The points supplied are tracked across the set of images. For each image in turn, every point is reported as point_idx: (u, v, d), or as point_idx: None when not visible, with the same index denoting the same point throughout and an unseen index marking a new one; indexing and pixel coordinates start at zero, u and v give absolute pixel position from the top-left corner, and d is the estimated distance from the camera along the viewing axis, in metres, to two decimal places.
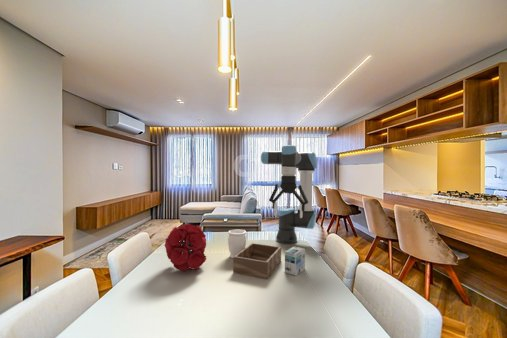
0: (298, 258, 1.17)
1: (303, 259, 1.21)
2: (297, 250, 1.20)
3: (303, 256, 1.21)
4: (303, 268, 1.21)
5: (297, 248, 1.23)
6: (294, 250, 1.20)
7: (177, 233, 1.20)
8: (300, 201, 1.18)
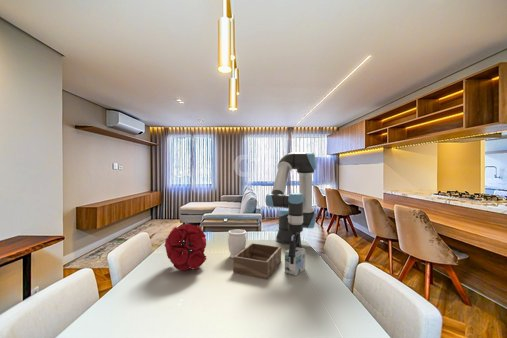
0: (298, 258, 1.17)
1: (303, 259, 1.21)
2: (298, 250, 1.20)
3: (303, 255, 1.21)
4: (303, 268, 1.21)
5: (297, 248, 1.22)
6: None
7: (177, 233, 1.20)
8: None
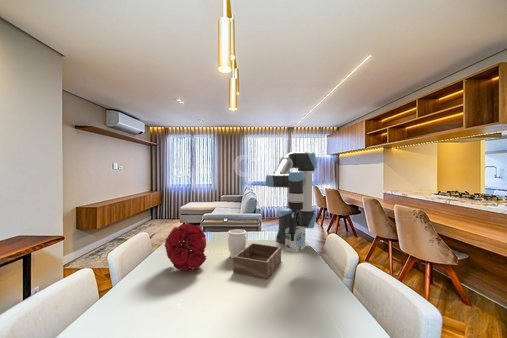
0: (299, 235, 1.17)
1: (303, 237, 1.21)
2: (298, 228, 1.20)
3: (303, 234, 1.22)
4: (303, 246, 1.22)
5: (297, 227, 1.23)
6: None
7: (177, 233, 1.20)
8: None
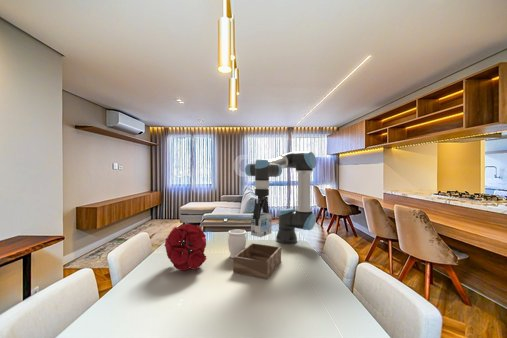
0: (264, 221, 1.21)
1: (269, 223, 1.25)
2: (264, 214, 1.24)
3: (269, 220, 1.26)
4: (269, 232, 1.26)
5: (263, 213, 1.27)
6: (260, 214, 1.24)
7: (177, 233, 1.20)
8: None
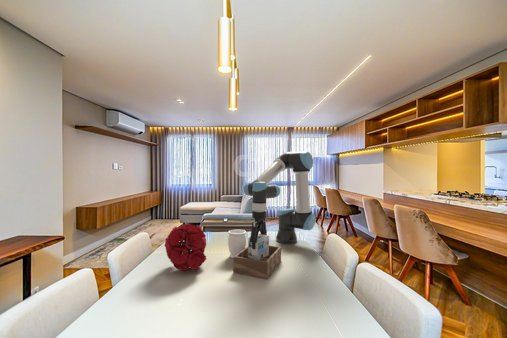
0: (261, 244, 1.21)
1: (266, 245, 1.25)
2: (261, 237, 1.24)
3: (267, 242, 1.26)
4: (266, 254, 1.26)
5: (261, 235, 1.27)
6: (257, 237, 1.24)
7: (177, 233, 1.20)
8: None
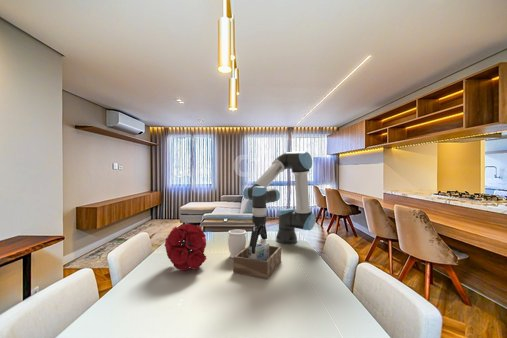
0: (261, 252, 1.22)
1: (266, 253, 1.26)
2: (261, 245, 1.25)
3: (267, 250, 1.26)
4: None
5: (261, 243, 1.27)
6: (257, 245, 1.24)
7: (177, 233, 1.20)
8: None
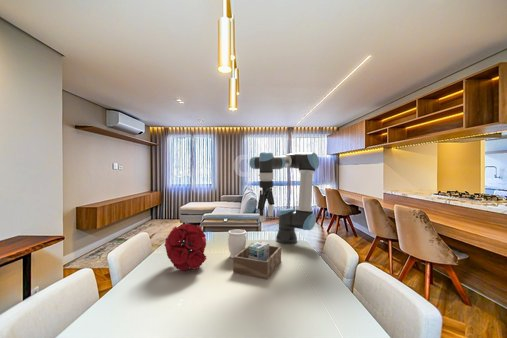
0: (261, 252, 1.22)
1: (266, 253, 1.26)
2: (261, 245, 1.25)
3: (267, 250, 1.26)
4: None
5: (261, 243, 1.27)
6: (257, 245, 1.24)
7: (177, 233, 1.20)
8: None
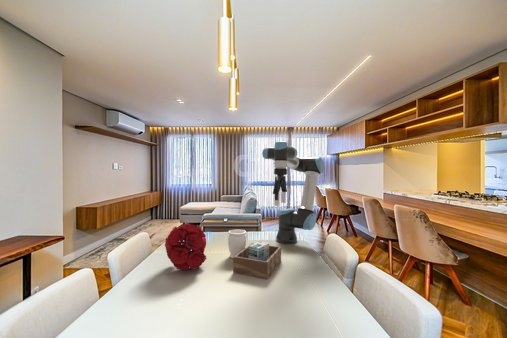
0: (261, 252, 1.22)
1: (266, 253, 1.26)
2: (261, 245, 1.25)
3: (267, 250, 1.26)
4: None
5: (261, 243, 1.27)
6: (257, 245, 1.24)
7: (177, 233, 1.20)
8: None
